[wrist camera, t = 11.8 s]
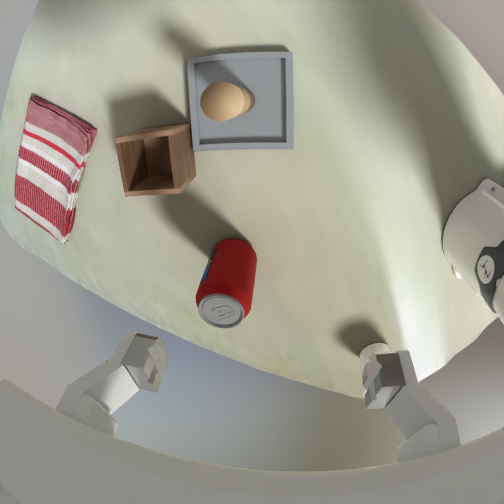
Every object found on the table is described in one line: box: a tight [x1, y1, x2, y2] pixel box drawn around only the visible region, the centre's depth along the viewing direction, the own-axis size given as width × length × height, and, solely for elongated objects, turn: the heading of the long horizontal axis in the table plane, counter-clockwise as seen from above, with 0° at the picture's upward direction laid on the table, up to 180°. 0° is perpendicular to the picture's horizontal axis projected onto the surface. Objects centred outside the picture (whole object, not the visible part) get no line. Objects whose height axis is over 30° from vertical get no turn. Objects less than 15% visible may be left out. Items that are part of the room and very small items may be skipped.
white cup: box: [360, 343, 390, 394], centre depth 47 cm, size 8×8×10 cm
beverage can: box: [196, 239, 257, 328], centre depth 36 cm, size 7×7×12 cm
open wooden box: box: [115, 122, 196, 197], centre depth 30 cm, size 7×7×7 cm
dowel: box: [200, 82, 255, 121], centre depth 23 cm, size 3×3×12 cm
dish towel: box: [15, 96, 97, 244], centre depth 34 cm, size 17×23×3 cm
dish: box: [187, 52, 293, 151], centre depth 28 cm, size 12×12×1 cm
